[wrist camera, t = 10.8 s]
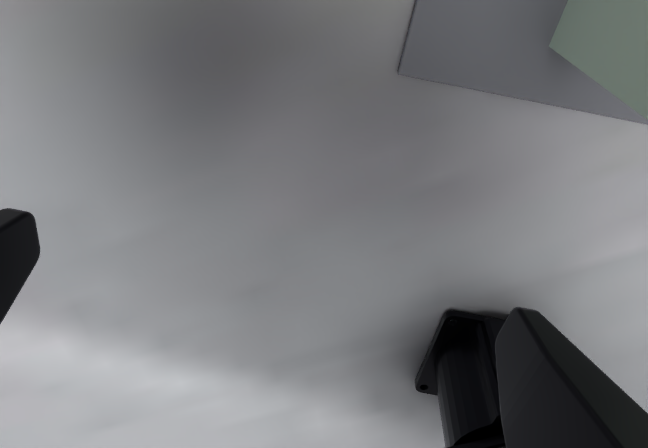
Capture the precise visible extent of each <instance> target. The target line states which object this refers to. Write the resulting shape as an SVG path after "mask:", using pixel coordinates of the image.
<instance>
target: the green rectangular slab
mask: <svg viewBox="0 0 648 448" xmlns="http://www.w3.org/2000/svg"><path fill="white" fill-rule="evenodd" d="M549 47H550V48H552V49H553V50H554V51H556V52H557V53H558V54H560V55H561V56H562V57H564V58H565V59H566V60H568V61H569V62H570V63H572V64H573V65H574V66H576V67H577V68H578V69H580V70H581V71H582V72H584V73H585V74H586V75H588V76H589V77H590V78H592V79H593V80H595V81H596V82H597V83H599V84H600V85H601V86H603V87H604V88H605V89H607V90H608V91H609V92H611V93H612V94H613V95H615V96H616V97H617V98H619V99H620V100H621V101H623V102H624V103H625V104H627V105H628V106H629V107H631V108H632V109H633V110H635V111H636V112H637V113H639V114H640V115H641V116H643V117H644V118H645V119H647V120H648V0H568V2H567V4H566V6H565V9H564V11H563V13H562V16H561V18H560V21H559V23H558V25H557V28H556V30H555V32H554V35H553V37H552V40H551V42H550V44H549Z"/></svg>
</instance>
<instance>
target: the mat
mask: <svg viewBox="0 0 648 448" xmlns="http://www.w3.org/2000/svg"><path fill="white" fill-rule="evenodd" d="M567 2H568V0H416V3H415V7H414V11H413V14H412V18H411V22H410V26H409V30H408V34H407V38H406V41H405V45H404V49H403V53H402V57H401V61H400V65H399V68H398V75H403V76H408V77H413V78H418V79H423V80H428V81H433V82H438V83H443V84H448V85H453V86H458V87H463V88H468V89H473V90H478V91H483V92H488V93H493V94H498V95H503V96H508V97H513V98H518V99H523V100H528V101H533V102H538V103H543V104H548V105H553V106H558V107H563V108H568V109H573V110H578V111H583V112H588V113H593V114H598V115H603V116H608V117H613V118H618V119H623V120H628V121H633V122H638V123H643V124H648V120H647V119H645V118H644V117H643V116H641V115H640V114H639V113H637V112H636V111H635V110H633V109H632V108H631V107H629V106H628V105H627V104H625V103H624V102H623V101H621V100H620V99H619V98H617V97H616V96H615V95H613V94H612V93H611V92H609V91H608V90H607V89H605V88H604V87H603V86H601V85H600V84H599V83H597V82H596V81H595V80H593V79H592V78H590V77H589V76H588V75H586V74H585V73H584V72H582V71H581V70H580V69H578V68H577V67H576V66H574V65H573V64H572V63H570V62H569V61H568V60H566V59H565V58H564V57H562V56H561V55H560V54H558V53H557V52H556V51H554V50H553V49H552V48H550V47H549V44H550V42H551V40H552V37H553V35H554V32H555V30H556V28H557V25H558V23H559V21H560V18H561V16H562V13H563V11H564V9H565V6H566V4H567Z"/></svg>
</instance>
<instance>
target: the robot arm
mask: <svg viewBox="0 0 648 448" xmlns="http://www.w3.org/2000/svg"><path fill="white" fill-rule="evenodd" d="M39 255H40V245H39V239H38V233H37V228H36V222H35V218H34V216H33V215H32V214H31V213H29V212H27V211H22V210H16V209H11V208H6V209H2V210H0V324H1V322H2V321H3V319H4V317H5V316H6V314H7V312H8V311H9V309H10V307H11V305H12V304H13V302H14V300H15V299H16V297H17V295H18V294H19V292H20V290H21V288H22V287H23V285H24V283H25V282H26V280H27V278H28V276H29V275H30V273H31V271H32V270H33V268H34V266H35V264H36V263H37V261H38V258H39ZM452 319H455V320H454V321H450V320H452ZM415 387H416V390H417V391H419V392H422V393H427V394H433V395H438V399H439V406H440V413H441V419H442V426H443V433H444V440H445V447H446V448H648V413H647V412H645V411H644V410H643V409H642V408H641V407H640V406H639V405H638V404H637V403H636V402H635V401H634V400H633V399H632V398H630V397H629V396H628V395H627V394H626V393H625V392H624V391H623V390H622V389H621V388H620V387H619V386H618V385H616V384H615V383H614V382H613V381H612V380H611V379H610V378H609V377H608V376H607V375H606V374H605V373H604V372H603V371H601V370H600V369H599V368H598V367H597V366H596V365H595V364H594V363H593V362H592V361H591V360H590V359H589V358H588V357H586V356H585V355H584V354H583V353H582V352H581V351H580V350H579V349H578V348H577V347H576V346H575V345H574V344H573V343H571V342H570V341H569V340H568V339H567V338H566V337H565V336H564V335H563V334H562V333H561V332H560V331H559V330H558V329H556V328H555V327H554V326H553V325H552V324H551V323H550V322H549V321H548V320H547V319H546V318H545V317H544V316H543V315H541V314H540V313H539V312H538V311H536V310H532V309H527V308H521V307H516V308H514V309H513V310H512V311H511V312H510V314H509V316H508V317H507V319H506V320H502V319H497V318H491V317H486V316H480V315H475V314H469V313H464V312H459V311H448V312H447V313H445V314H444V316H443V318H442V320H441V322H440V325H439V327H438V329H437V331H436V334H435V336H434V338H433V341H432V343H431V345H430V348H429V350H428V352H427V355H426V357H425V359H424V361H423V364H422V366H421V368H420V371H419V373H418V375H417V378H416V380H415Z"/></svg>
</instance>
